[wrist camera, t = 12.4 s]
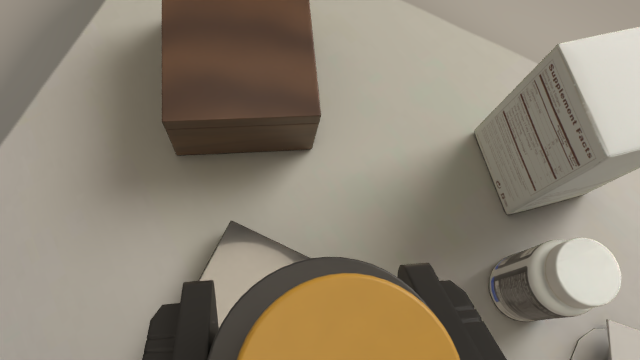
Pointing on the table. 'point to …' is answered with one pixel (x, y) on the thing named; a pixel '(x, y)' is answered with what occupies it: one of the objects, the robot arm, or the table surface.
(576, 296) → the pill bottle
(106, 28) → the table surface
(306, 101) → the spice shelf
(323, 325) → the spice bottle
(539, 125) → the white packaging box
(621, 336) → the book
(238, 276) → the hob
